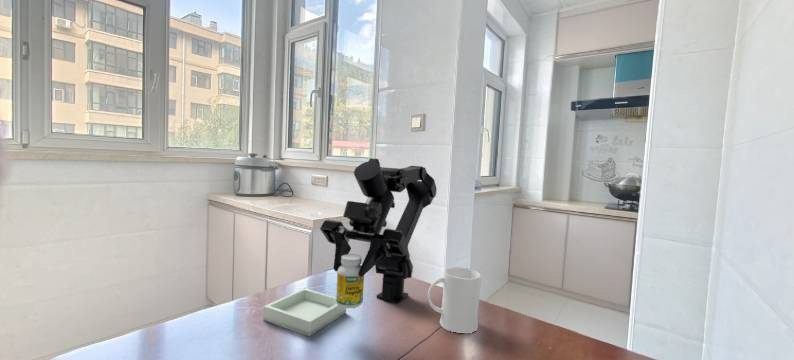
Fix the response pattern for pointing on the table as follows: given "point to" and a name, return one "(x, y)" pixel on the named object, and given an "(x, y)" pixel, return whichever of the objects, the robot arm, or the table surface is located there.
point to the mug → (459, 299)
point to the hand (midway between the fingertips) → (347, 273)
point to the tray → (303, 311)
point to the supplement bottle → (349, 282)
